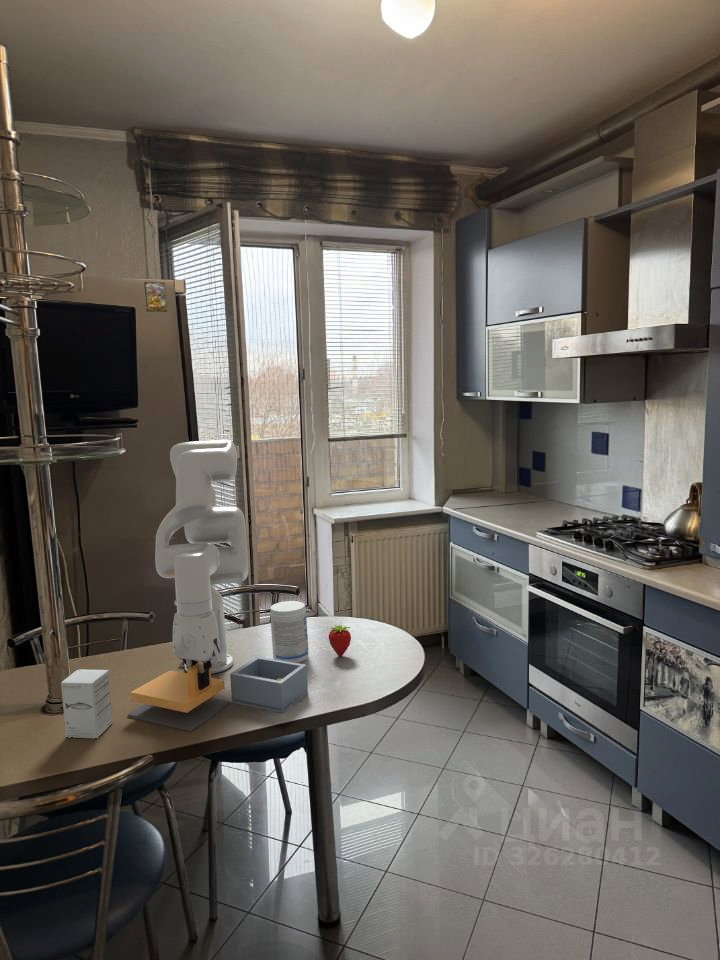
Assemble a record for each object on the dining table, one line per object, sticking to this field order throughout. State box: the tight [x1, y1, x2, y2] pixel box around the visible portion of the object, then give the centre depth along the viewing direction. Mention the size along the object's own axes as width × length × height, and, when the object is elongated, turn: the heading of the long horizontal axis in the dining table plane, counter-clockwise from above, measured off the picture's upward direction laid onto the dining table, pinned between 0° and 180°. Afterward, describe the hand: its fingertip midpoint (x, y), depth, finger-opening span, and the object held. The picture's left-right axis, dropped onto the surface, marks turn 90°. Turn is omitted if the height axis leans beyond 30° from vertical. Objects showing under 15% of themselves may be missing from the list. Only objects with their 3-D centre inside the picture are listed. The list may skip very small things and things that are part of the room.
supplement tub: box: [269, 600, 310, 664], centre depth 182 cm, size 10×10×15 cm
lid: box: [129, 663, 225, 713], centre depth 154 cm, size 16×13×8 cm
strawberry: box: [328, 620, 352, 658], centre depth 183 cm, size 6×8×10 cm
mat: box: [127, 696, 232, 732], centre depth 156 cm, size 18×14×1 cm
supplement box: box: [60, 669, 114, 740], centre depth 147 cm, size 7×7×13 cm
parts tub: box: [229, 656, 309, 714], centre depth 160 cm, size 14×11×7 cm
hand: (200, 686), depth 152 cm, fingers closed on lid, 1 cm apart
